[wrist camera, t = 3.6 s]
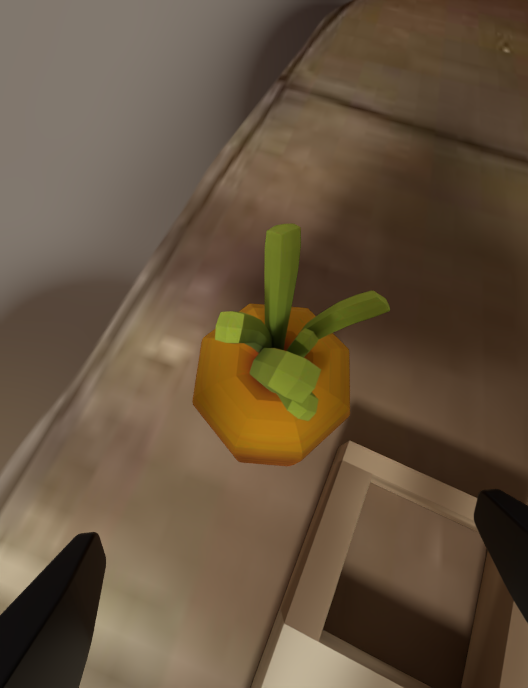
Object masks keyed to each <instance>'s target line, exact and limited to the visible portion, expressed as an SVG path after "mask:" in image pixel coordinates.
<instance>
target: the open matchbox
mask: <svg viewBox="0 0 528 688" xmlns="http://www.w3.org/2000/svg"><path fill="white" fill-rule="evenodd" d="M370 482H371V483H373V484H375V485H377V486H380V487H382V488H384V489H386V490H388V491H390V492H392V493H395V494H397V495H399V496H401V497H403V498H405V499H408V500H410V501H412V502H414V503H416V504H418V505H420V506H423V507H425V508H427V509H429V510H431V511H433V512H435V513H438V514H440V515H442V516H444V517H446V518H448V519H451V520H453V521H455V522H457V523H459V524H461V525H463V526H466V527H468V528H470V529H472V530H474V531H476V532H478V530H477V528H476V525H475V522H474V510H475V506H476V502H477V498H476V497H473V496H471V495H469V494H467V493H465V492H462V491H460V490H458V489H456V488H454V487H451V486H449V485H447V484H445V483H443V482H440V481H438V480H436V479H434V478H431V477H429V476H427V475H425V474H423V473H420V472H418V471H416V470H414V469H412V468H409V467H407V466H405V465H403V464H401V463H398V462H396V461H394V460H392V459H389V458H387V457H385V456H383V455H381V454H378V453H376V452H374V451H372V450H370V449H367V448H365V447H363V446H361V445H359V444H356V443H354V442H352V441H350V440H349V441H348V442H346V443H345V444H343V445H341V446H340V447H339V448H338V450H337V453H336V456H335V458H334V461H333V464H332V467H331V469H330V472H329V475H328V478H327V480H326V483H325V486H324V489H323V491H322V494H321V497H320V499H319V502H318V505H317V508H316V510H315V513H314V516H313V519H312V521H311V524H310V527H309V530H308V532H307V535H306V538H305V541H304V543H303V546H302V549H301V551H300V554H299V557H298V560H297V562H296V565H295V568H294V571H293V573H292V576H291V579H290V582H289V584H288V587H287V590H286V593H285V595H284V598H283V601H282V603H281V606H280V609H279V612H278V614H277V617H276V620H275V623H274V625H273V628H272V631H271V634H270V636H269V639H268V642H267V645H266V647H265V650H264V653H263V655H262V658H261V661H260V664H259V666H258V669H257V672H256V675H255V677H254V680H253V683H252V686H251V688H432V687H430V686H428V685H426V684H424V683H422V682H420V681H419V680H417V679H415V678H413V677H411V676H409V675H407V674H405V673H403V672H402V671H400V670H398V669H396V668H394V667H392V666H390V665H388V664H386V663H385V662H383V661H381V660H379V659H377V658H375V657H373V656H371V655H370V654H368V653H366V652H364V651H362V650H360V649H358V648H356V647H354V646H353V645H351V644H349V643H347V642H345V641H343V640H341V639H339V638H337V637H336V636H334V635H332V634H330V633H328V632H326V631H324V630H323V627H324V624H325V621H326V617H327V614H328V611H329V608H330V605H331V602H332V599H333V596H334V593H335V590H336V586H337V583H338V580H339V577H340V574H341V571H342V568H343V565H344V562H345V558H346V555H347V552H348V549H349V546H350V543H351V540H352V537H353V534H354V531H355V527H356V524H357V521H358V518H359V515H360V512H361V509H362V506H363V503H364V499H365V496H366V493H367V490H368V487H369V484H370ZM461 688H528V623H527V622H526V620H525V618H524V617H523V615H522V614H521V612H520V610H519V609H518V607H517V605H516V604H515V602H514V600H513V599H512V597H511V595H510V593H509V592H508V590H507V588H506V586H505V584H504V582H503V580H502V578H501V576H500V574H499V572H498V570H497V568H496V566H495V564H494V562H493V560H492V558H491V556H490V554H489V552H488V551H487V556H486V562H485V567H484V572H483V577H482V582H481V587H480V592H479V598H478V603H477V608H476V613H475V618H474V623H473V629H472V634H471V639H470V644H469V649H468V654H467V660H466V665H465V670H464V675H463V680H462V685H461Z"/></svg>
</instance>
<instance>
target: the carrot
mask: <svg viewBox="0 0 528 688" xmlns="http://www.w3.org/2000/svg"><path fill="white" fill-rule="evenodd" d="M300 248H301V227H299V226H297V225H295V224H281V225H276V226H274V227H272V228H271V229H269V230H267V233H266V241H265V305H262V304H249V305H247V306H246V307H244V308H243V309H242V310H240V311H239V312H232V311H231V312H221V313H220V315H219V318H218V321H217V324H216V329H214V330H213V331H212V332H210V333H209V334H208V335H206V336H205V337H204V338H203V339H202V342H201V349H200V356H199V362H198V369H197V375H196V382H195V388H194V395H193V405H194V406H195V408H196V409H197V410H198V411H199V413H200V414H201V415H202V417H203V418H204V419H205V420H206V422H207V423H208V424H209V425H210V427H211V428H212V429H213V430H214V432H215V433H216V434H217V436H218V437H219V438H220V439H221V441H222V442H223V443H224V444H225V446H226V447H227V448H228V449H229V451H230V452H231V453H232V454H233V456H234V457H235V458H236V459H237V460H238V461H239V462H243V463H255V464H267V465H279V466H291V465H294V464H296V463H298V462H300V461H301V460H302V459H304V458H305V457H306V456H307V455H308V454H309V453H310V452H311V451H312V450H313V449H314V448H315V447H317V446H318V445H319V444H320V443H321V442H322V441H323V440H324V439H325V438H326V437H327V436H328V435H330V434H331V433H332V432H333V431H334V430H335V429H336V428H337V427H338V426H339V425H340V424H341V423H343V422H344V421H345V420H346V419H347V418H348V417H349V415H350V369H349V349H348V348H347V347H346V346H345V345H344V344H343V343H342V342H341V341H340V340H339V339H338V338H337V337H336V336H335V335H334V334H333V332H335V331H338V330H340V329H342V328H345V327H347V326H349V325H351V324H354V323H358V322H361V321H364V320H367V319H370V318H373V317H375V316H378V315H381V314H383V313H386V312H388V311H390V307H389V304H388V302H387V300H386V299H385V298H384V297H382V296H381V295H379V294H378V293H376V292H375V291H373V290H372V291H368V292H365V293H361V294H357V295H355V296H352V297H350V298H347V299H345V300H342V301H340V302H338V303H336V304H335V305H333V306H331V307H330V308H328V309H326V310H325V311H323V312H321V313H320V314H319V315H317V316H315V315H314V314H313V313H312V312H311V311H310V310H309V309H308V308H299V307H292V301H293V295H294V290H295V284H296V279H297V273H298V266H299V257H300Z"/></svg>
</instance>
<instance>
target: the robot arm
mask: <svg viewBox="0 0 528 688" xmlns="http://www.w3.org/2000/svg"><path fill="white" fill-rule="evenodd" d="M474 522H475V525H476V528H477V530H478V532H479V534H480V536H481V538H482V540H483V542H484V544H485V546H486V548H487V550H488V552H489V554H490V556H491V558H492V560H493V562H494V564H495V566H496V568H497V570H498V572H499V574H500V576H501V578H502V580H503V582H504V584H505V586H506V588H507V590H508V592H509V593H510V595H511V597H512V599H513V600H514V602H515V604H516V605H517V607H518V609H519V610H520V612H521V614H522V615H523V617H524V618H525V620H526V622H527V623H528V506H527V505H525V504H523V503H522V502H520V501H518V500H517V499H515V498H513V497H511V496H510V495H508V494H506V493H505V492H503V491H501V490H499V489H488V490H482V491H480V492H479V494H478V497H477V502H476V506H475V510H474ZM105 568H106V556H105V553H104V550H103V546H102V543H101V540H100V537H99V535H98V533H96V532H90V533H81V534H78V535H77V536H75V537H74V538H73V539H72V540H71V542H70V543H69V544H68V545H67V546H66V547H65V548H64V549H63V550H62V551H61V552H60V553H59V554H58V555H57V556H56V557H55V558H54V559H53V560H52V561H51V563H50V564H49V565H48V566H47V567H46V568H45V569H44V570H43V571H42V572H41V573H40V574H39V575H38V576H37V577H36V578H35V579H34V580H33V581H32V582H31V584H30V585H29V586H28V587H27V588H26V589H25V590H24V591H23V592H22V593H21V594H20V595H19V596H18V597H17V598H16V599H15V600H14V601H13V602H12V603H11V605H10V606H9V607H8V608H7V609H6V610H5V611H4V612H3V613H2V614H1V615H0V688H79V685H80V682H81V678H82V675H83V671H84V668H85V664H86V661H87V657H88V653H89V650H90V646H91V641H92V637H93V632H94V627H95V621H96V616H97V611H98V605H99V600H100V595H101V589H102V584H103V579H104V573H105Z"/></svg>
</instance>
